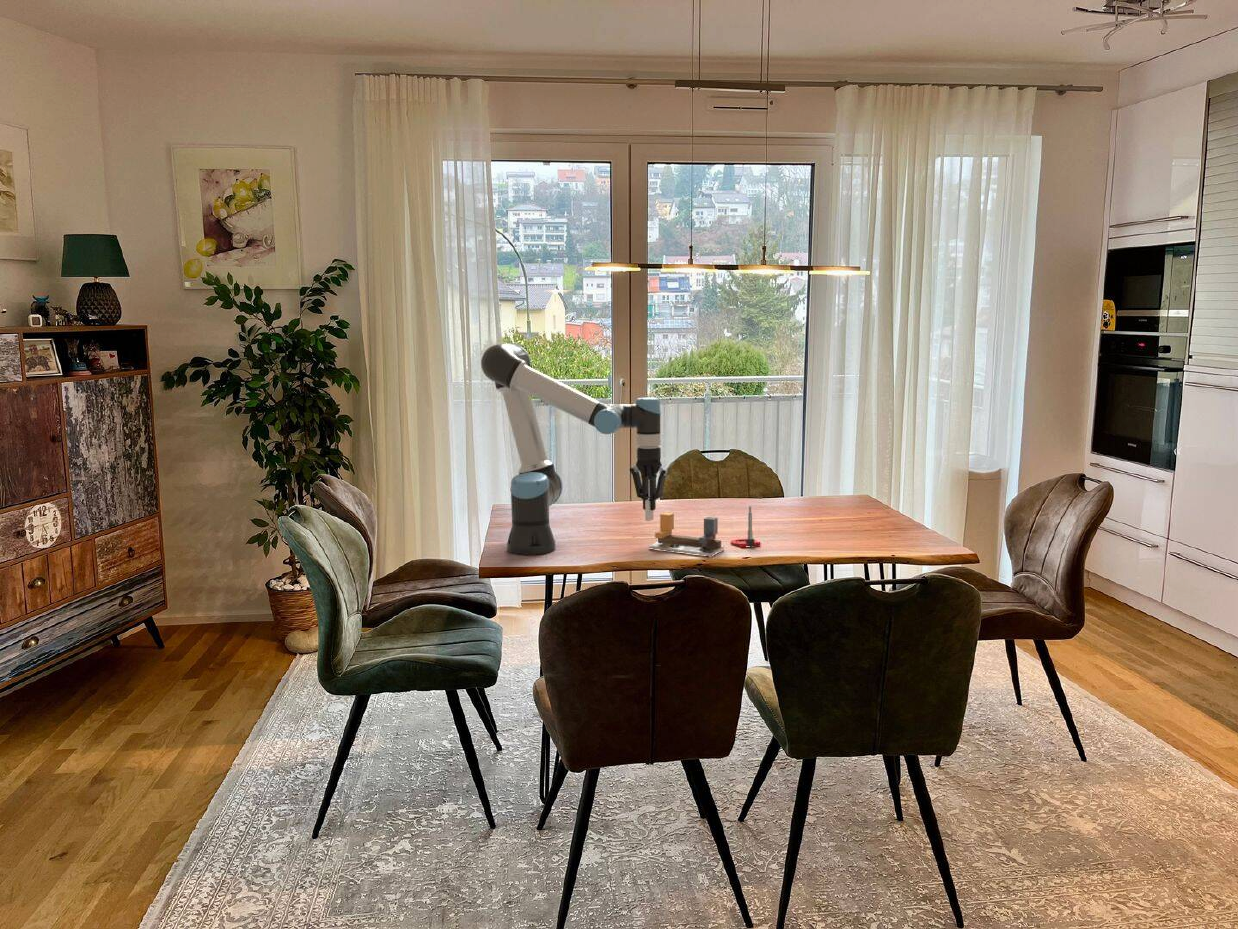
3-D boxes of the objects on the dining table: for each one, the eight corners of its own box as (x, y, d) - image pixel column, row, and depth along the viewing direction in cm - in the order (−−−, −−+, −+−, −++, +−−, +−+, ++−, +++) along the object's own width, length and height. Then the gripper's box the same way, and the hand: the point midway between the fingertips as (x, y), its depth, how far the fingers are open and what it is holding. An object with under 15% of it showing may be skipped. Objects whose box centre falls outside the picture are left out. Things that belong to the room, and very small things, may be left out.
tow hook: (726, 543, 299) (739, 548, 290) (725, 503, 297) (739, 507, 289) (749, 541, 302) (763, 546, 293) (749, 501, 300) (763, 505, 292)
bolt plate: (710, 557, 280) (710, 547, 280) (648, 549, 290) (648, 539, 290) (723, 550, 289) (723, 539, 288) (662, 542, 299) (662, 533, 298)
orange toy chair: (663, 544, 290) (663, 517, 288) (653, 543, 291) (653, 516, 290) (673, 538, 296) (673, 513, 295) (664, 537, 298) (664, 512, 296)
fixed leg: (707, 549, 282) (707, 522, 281) (697, 548, 284) (697, 521, 283) (717, 544, 289) (717, 517, 288) (707, 542, 291) (708, 516, 289)
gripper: (672, 446, 294) (672, 519, 298) (636, 444, 300) (636, 515, 304) (661, 449, 288) (662, 524, 291) (624, 447, 294) (625, 520, 298)
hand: (649, 519), depth 298 cm, fingers closed
